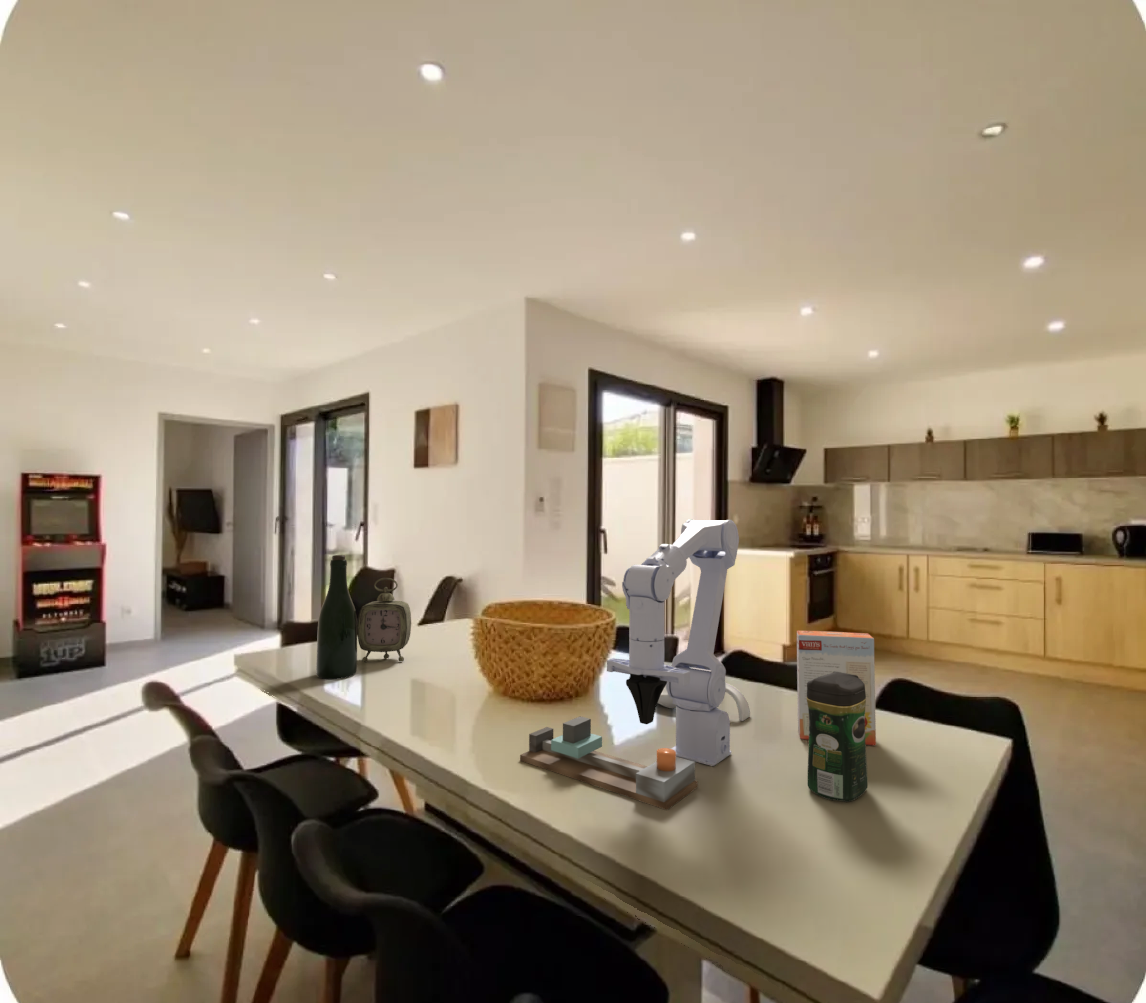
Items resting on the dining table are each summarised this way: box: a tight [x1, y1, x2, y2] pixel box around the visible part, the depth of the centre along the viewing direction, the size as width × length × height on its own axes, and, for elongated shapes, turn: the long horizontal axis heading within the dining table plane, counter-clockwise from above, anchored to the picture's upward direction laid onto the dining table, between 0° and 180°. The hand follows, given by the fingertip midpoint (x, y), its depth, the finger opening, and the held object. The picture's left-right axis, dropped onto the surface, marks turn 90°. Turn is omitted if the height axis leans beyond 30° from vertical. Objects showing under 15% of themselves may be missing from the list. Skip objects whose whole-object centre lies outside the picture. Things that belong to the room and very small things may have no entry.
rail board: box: [519, 726, 699, 811], centre depth 106 cm, size 30×10×4 cm, turn 52°
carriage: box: [551, 716, 603, 758], centre depth 109 cm, size 6×7×5 cm
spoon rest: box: [657, 681, 751, 722], centre depth 142 cm, size 24×12×7 cm, turn 54°
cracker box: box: [796, 630, 877, 746], centre depth 124 cm, size 14×6×21 cm, turn 74°
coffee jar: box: [807, 671, 869, 803], centre depth 100 cm, size 10×8×19 cm
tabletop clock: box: [357, 577, 412, 663], centre depth 188 cm, size 14×9×25 cm, turn 95°
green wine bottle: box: [315, 554, 358, 680], centre depth 170 cm, size 10×10×33 cm
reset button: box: [656, 747, 677, 771], centre depth 98 cm, size 3×3×2 cm
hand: (646, 722), depth 101 cm, fingers closed
